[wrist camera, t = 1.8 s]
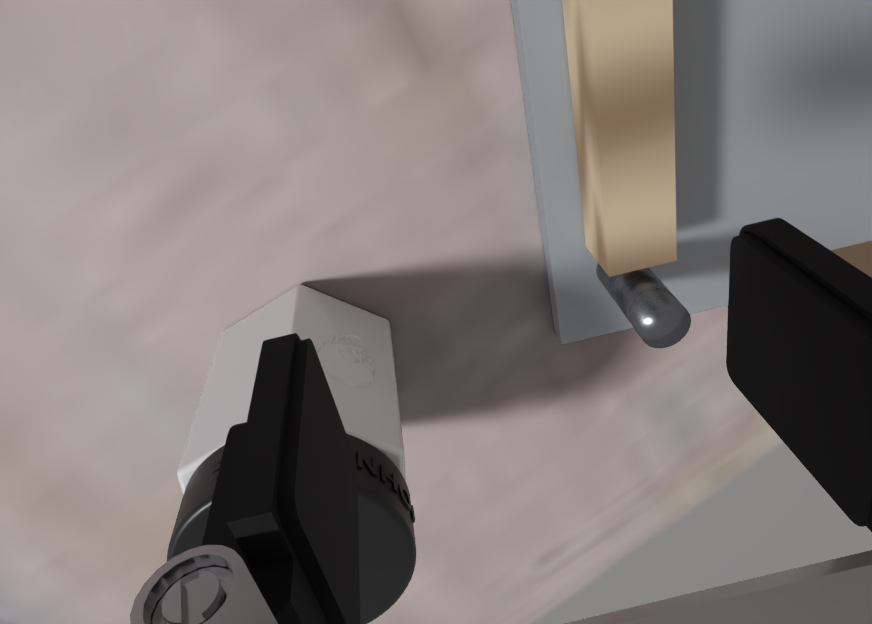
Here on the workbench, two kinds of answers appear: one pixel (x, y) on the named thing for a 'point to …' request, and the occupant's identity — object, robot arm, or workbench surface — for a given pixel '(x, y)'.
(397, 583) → the jar
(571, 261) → the jig board
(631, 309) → the pivot pin
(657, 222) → the oak leg
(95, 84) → the workbench surface
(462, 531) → the workbench surface
